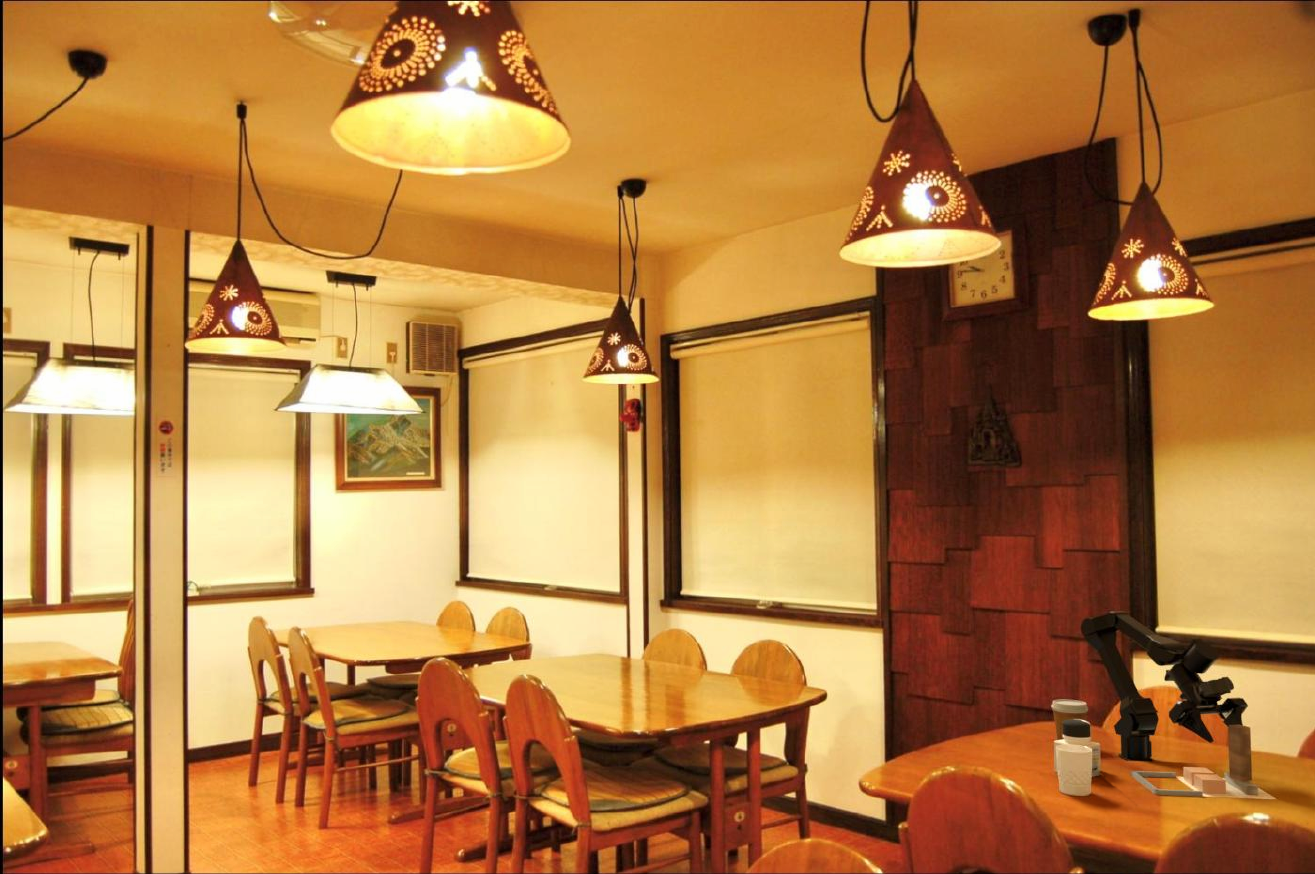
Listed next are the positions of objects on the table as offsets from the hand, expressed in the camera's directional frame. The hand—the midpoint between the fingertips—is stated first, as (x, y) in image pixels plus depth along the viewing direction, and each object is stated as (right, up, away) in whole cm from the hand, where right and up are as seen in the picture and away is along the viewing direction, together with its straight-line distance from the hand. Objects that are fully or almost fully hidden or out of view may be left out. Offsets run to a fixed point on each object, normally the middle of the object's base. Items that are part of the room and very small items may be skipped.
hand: (1228, 740), depth 243 cm
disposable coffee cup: (-20, -14, +41) cm, 48 cm away
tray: (-16, -11, -2) cm, 19 cm away
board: (-3, -11, -3) cm, 12 cm away
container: (-30, -12, +13) cm, 35 cm away
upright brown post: (+1, -10, -4) cm, 10 cm away
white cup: (-37, -11, -3) cm, 39 cm away
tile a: (-8, -10, -6) cm, 14 cm away
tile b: (-7, -10, 0) cm, 12 cm away
